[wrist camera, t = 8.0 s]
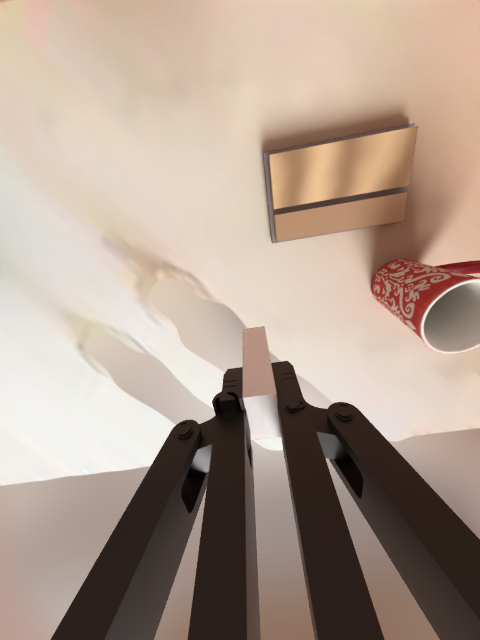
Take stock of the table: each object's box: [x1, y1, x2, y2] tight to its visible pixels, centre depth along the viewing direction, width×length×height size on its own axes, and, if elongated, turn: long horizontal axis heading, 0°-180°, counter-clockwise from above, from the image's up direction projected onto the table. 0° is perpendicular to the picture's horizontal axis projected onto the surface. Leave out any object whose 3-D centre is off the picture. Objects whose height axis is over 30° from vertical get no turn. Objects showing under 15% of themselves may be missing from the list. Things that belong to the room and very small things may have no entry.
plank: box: [269, 126, 418, 209], centre depth 30 cm, size 17×6×1 cm, turn 99°
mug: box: [371, 260, 480, 354], centre depth 31 cm, size 13×9×14 cm
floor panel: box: [263, 123, 414, 243], centre depth 31 cm, size 18×11×2 cm, turn 99°
